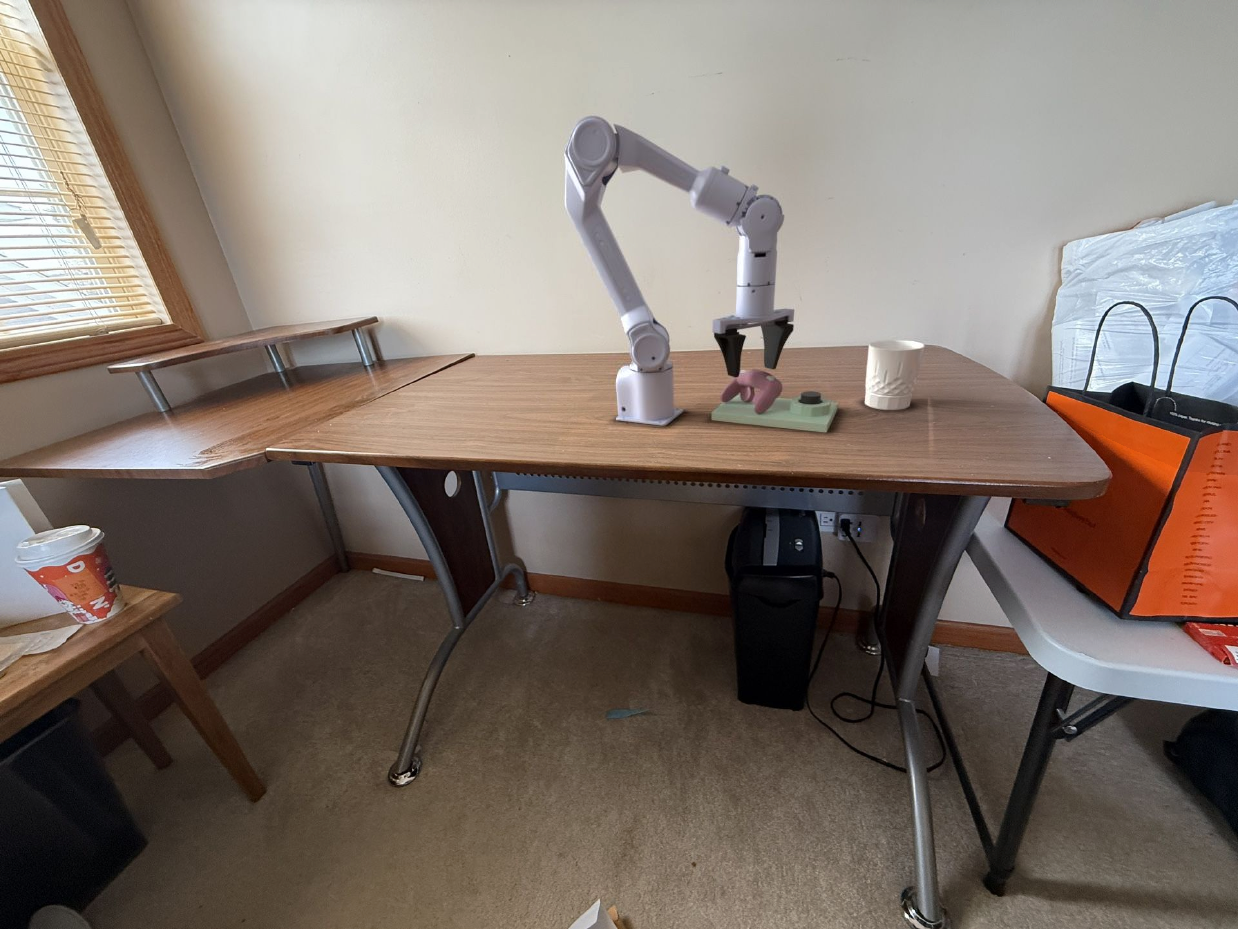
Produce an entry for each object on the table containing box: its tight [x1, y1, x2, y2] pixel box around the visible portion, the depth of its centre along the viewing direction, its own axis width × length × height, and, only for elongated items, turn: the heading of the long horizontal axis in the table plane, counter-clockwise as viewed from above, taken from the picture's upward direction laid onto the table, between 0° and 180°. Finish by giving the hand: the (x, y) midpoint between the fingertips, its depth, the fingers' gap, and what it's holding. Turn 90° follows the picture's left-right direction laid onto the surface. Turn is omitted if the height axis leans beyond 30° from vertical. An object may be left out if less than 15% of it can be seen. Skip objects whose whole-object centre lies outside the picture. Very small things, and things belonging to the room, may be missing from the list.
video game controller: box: [720, 368, 783, 414], centre depth 80 cm, size 10×5×7 cm, turn 29°
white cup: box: [864, 339, 926, 411], centre depth 79 cm, size 8×8×10 cm
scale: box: [711, 394, 839, 433], centre depth 79 cm, size 18×11×3 cm, turn 60°
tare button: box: [800, 390, 822, 405], centre depth 76 cm, size 3×3×2 cm
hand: (752, 372), depth 79 cm, fingers open, 7 cm apart
